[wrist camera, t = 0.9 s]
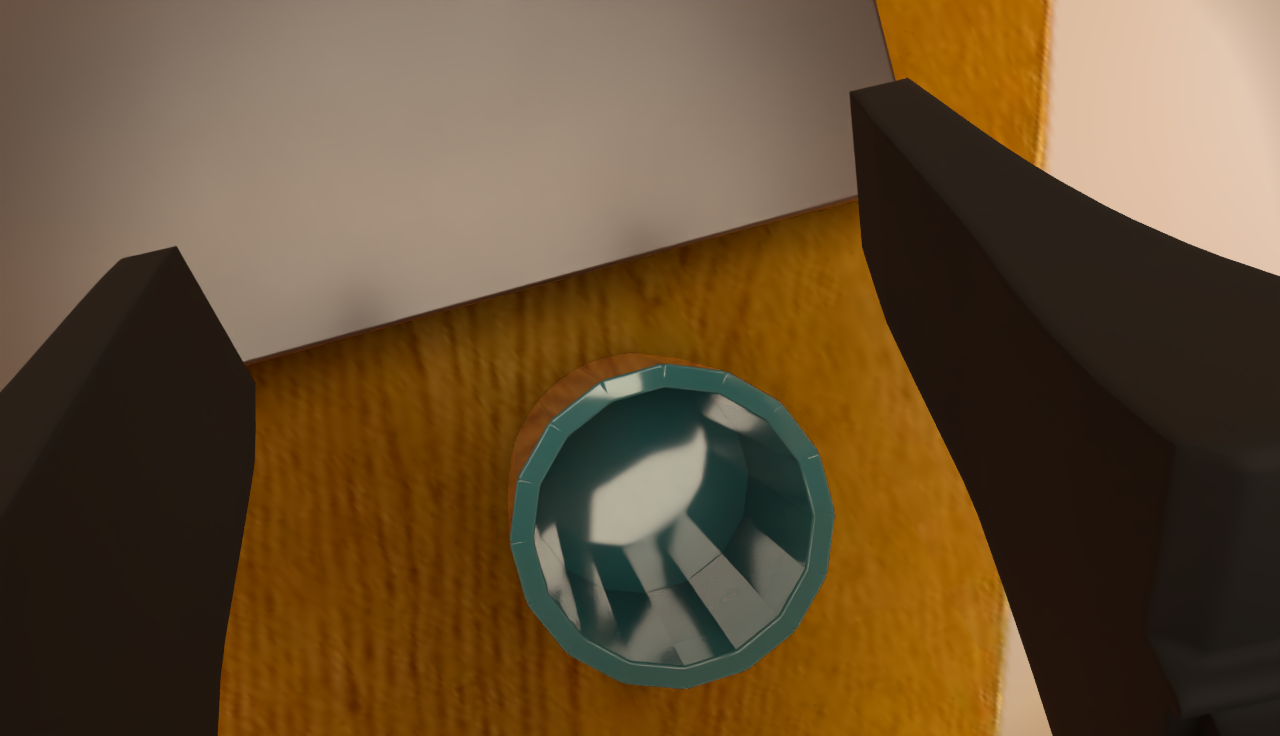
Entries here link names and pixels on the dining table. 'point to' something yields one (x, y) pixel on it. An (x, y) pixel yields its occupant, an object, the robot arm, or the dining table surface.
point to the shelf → (404, 147)
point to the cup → (666, 519)
